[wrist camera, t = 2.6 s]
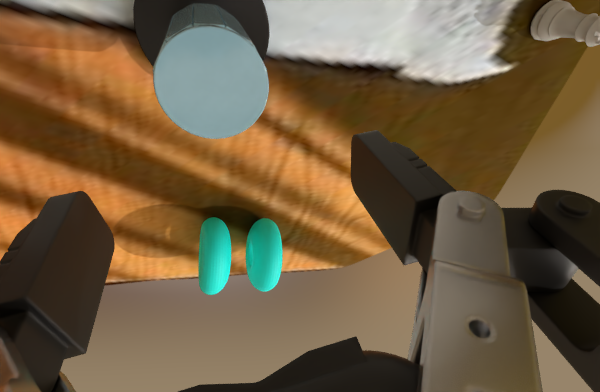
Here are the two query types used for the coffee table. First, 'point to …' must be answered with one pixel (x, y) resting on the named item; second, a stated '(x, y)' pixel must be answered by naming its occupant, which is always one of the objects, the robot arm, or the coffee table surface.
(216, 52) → the cup
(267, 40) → the holder
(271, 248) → the donuts
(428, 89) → the coffee table surface
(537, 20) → the rook chess piece
